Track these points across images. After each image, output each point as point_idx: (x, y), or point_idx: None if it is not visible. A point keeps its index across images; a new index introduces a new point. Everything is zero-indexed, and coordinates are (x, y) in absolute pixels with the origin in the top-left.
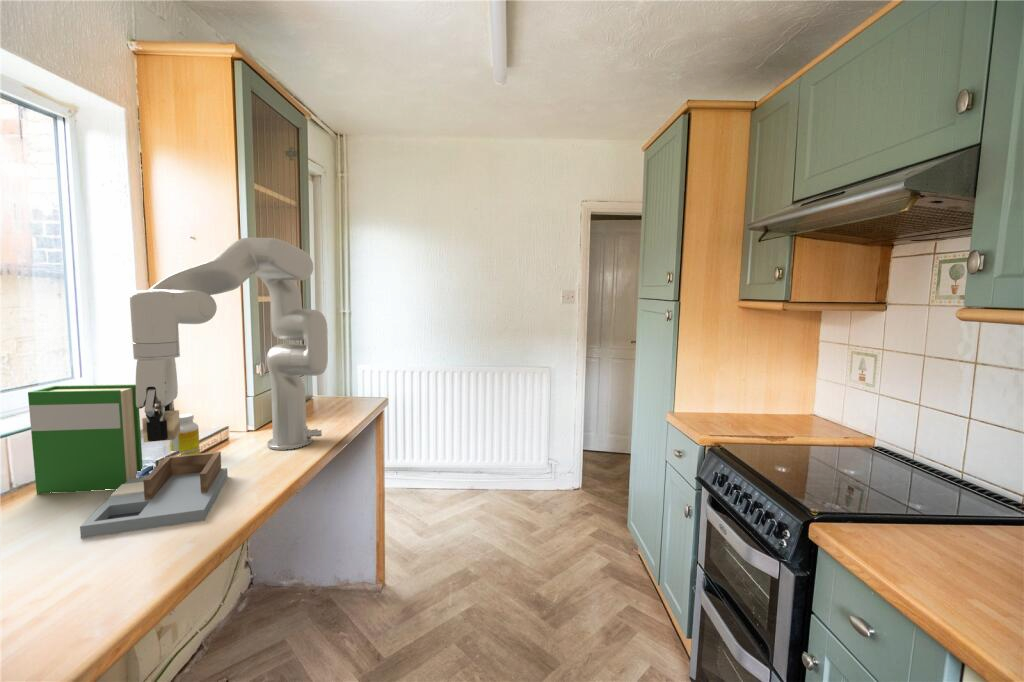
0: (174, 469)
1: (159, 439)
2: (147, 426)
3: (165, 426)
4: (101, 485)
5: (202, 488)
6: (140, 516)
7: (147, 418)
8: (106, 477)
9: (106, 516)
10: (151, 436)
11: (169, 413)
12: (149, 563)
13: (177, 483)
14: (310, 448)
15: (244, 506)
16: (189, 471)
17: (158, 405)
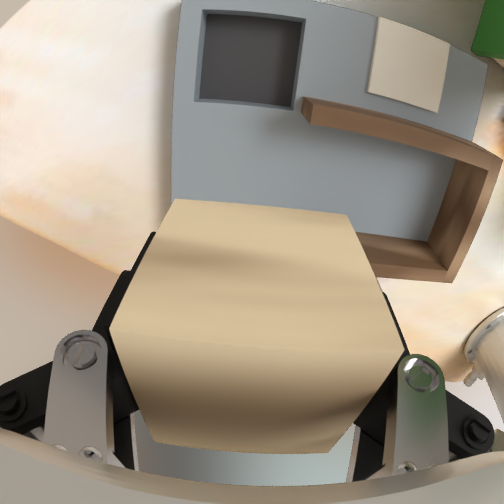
0: (465, 164)
1: None
2: (118, 301)
3: None
4: (490, 12)
5: None
6: (183, 109)
7: (55, 367)
8: (500, 21)
9: (280, 18)
10: (124, 271)
11: (247, 439)
12: (44, 166)
13: (393, 165)
14: (449, 359)
15: None
16: (448, 192)
17: (387, 450)
